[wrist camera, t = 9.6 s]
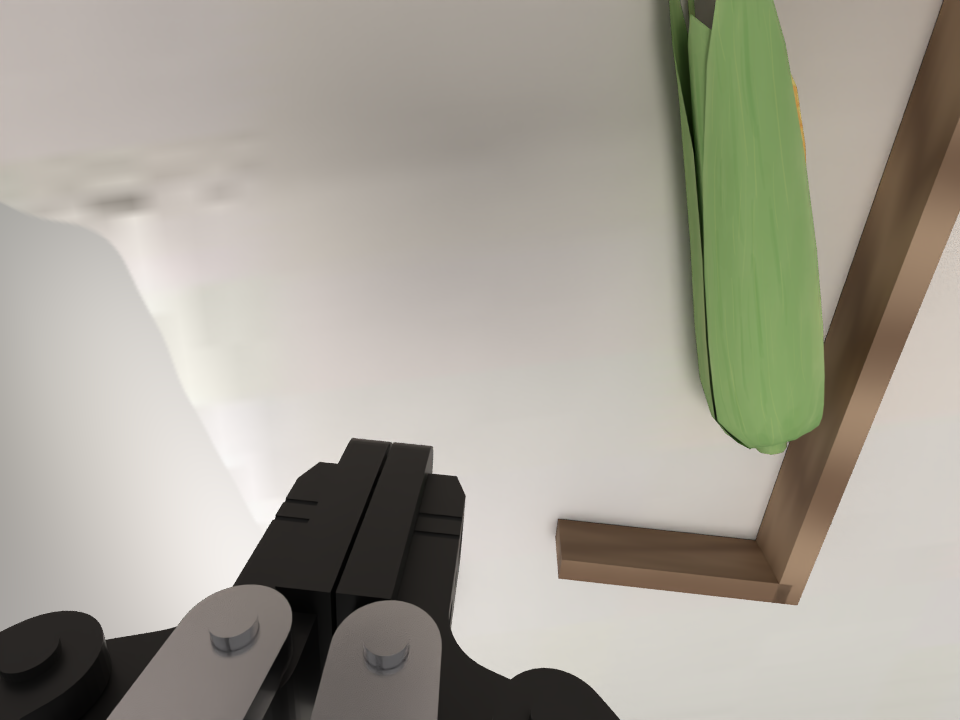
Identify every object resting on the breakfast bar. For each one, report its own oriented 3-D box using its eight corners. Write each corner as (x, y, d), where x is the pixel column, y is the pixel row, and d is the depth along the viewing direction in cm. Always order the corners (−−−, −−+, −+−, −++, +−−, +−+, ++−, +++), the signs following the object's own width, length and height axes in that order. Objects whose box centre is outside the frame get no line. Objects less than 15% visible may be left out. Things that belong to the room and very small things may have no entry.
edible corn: (707, 481, 23) (834, 482, 21) (641, -81, 17) (819, -152, 15) (708, 420, 28) (813, 416, 26) (656, -45, 21) (795, -97, 19)
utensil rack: (661, -109, 19) (684, -147, 16) (1011, -85, 19) (1095, -121, 16) (555, 536, 30) (558, 578, 27) (772, 560, 30) (797, 605, 27)
